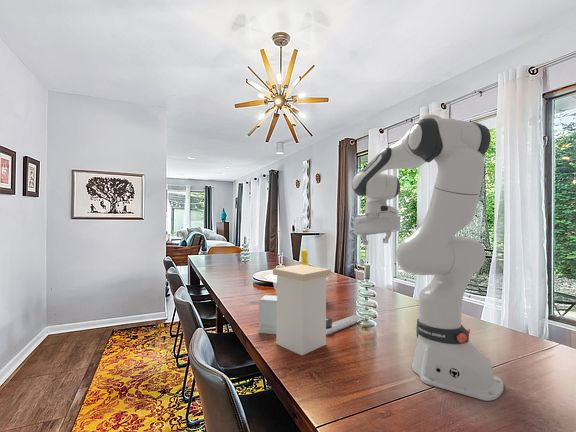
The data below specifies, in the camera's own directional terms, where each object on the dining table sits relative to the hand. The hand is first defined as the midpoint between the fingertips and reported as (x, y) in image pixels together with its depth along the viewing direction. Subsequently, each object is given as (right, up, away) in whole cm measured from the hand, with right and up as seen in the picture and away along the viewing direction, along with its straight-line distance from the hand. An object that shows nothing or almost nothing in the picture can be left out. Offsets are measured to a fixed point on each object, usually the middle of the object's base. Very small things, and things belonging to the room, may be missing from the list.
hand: (375, 244), depth 128 cm
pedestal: (-31, -33, -20) cm, 49 cm away
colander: (-32, -33, +32) cm, 55 cm away
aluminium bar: (-14, -33, -2) cm, 36 cm away
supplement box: (-42, -33, -7) cm, 54 cm away
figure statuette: (-24, -32, +72) cm, 82 cm away
